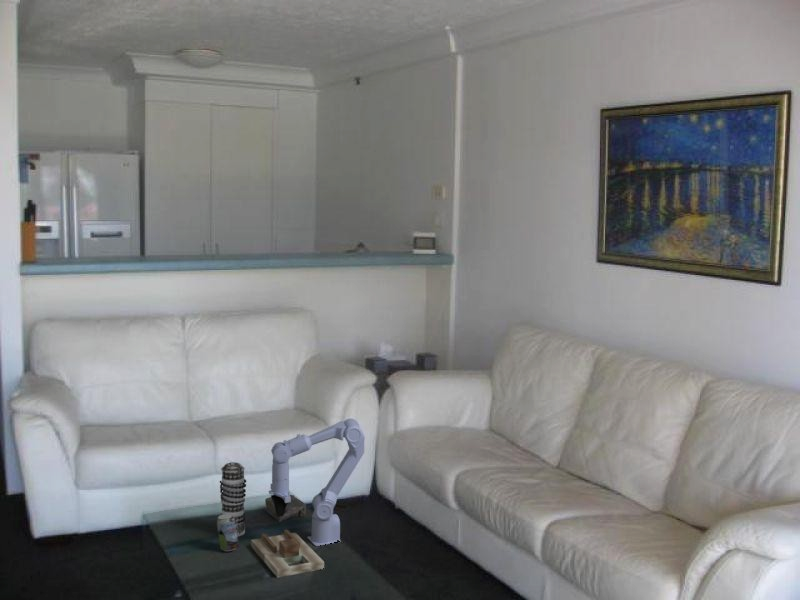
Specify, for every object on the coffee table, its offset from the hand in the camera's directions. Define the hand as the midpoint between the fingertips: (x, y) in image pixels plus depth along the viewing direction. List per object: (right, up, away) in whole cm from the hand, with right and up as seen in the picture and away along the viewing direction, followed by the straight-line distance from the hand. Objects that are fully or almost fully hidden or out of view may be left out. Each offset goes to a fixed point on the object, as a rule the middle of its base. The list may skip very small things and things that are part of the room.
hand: (280, 515), depth 332 cm
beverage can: (-17, -11, -5) cm, 21 cm away
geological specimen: (-2, -6, +28) cm, 29 cm away
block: (+5, -10, -13) cm, 17 cm away
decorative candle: (-18, -8, +9) cm, 22 cm away
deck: (+3, -12, -10) cm, 16 cm away
